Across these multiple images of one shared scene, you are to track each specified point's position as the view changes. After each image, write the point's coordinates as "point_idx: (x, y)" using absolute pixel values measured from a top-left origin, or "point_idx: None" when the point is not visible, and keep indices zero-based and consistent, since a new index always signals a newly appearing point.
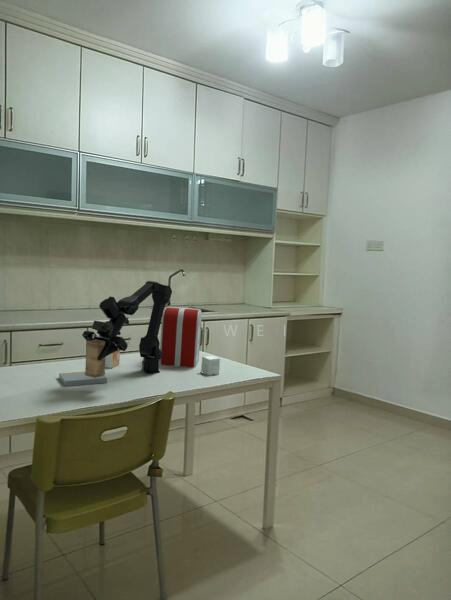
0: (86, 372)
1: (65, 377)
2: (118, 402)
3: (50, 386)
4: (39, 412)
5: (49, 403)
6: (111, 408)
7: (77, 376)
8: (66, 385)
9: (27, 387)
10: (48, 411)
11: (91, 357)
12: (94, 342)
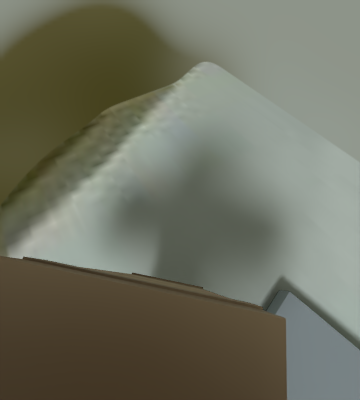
0: (192, 286)
1: (334, 343)
2: (36, 229)
3: (316, 262)
4: (182, 99)
5: (202, 144)
6: (42, 179)
7: (309, 397)
8: (278, 293)
9: (357, 217)
10: (170, 109)
11: (151, 280)
12: (59, 326)
